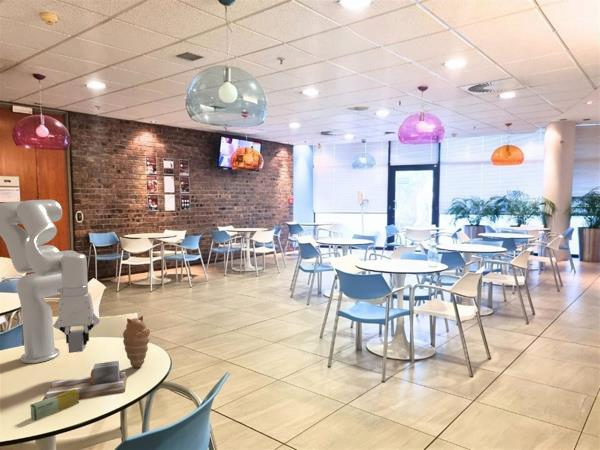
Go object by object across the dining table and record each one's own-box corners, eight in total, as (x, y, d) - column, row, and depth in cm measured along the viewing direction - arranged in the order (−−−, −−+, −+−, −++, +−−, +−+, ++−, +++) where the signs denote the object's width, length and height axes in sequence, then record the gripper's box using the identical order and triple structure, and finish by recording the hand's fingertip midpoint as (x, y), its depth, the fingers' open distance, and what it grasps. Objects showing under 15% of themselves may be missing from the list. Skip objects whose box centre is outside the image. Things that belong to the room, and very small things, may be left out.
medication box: (34, 421, 115) (33, 407, 115) (30, 418, 117) (29, 404, 117) (79, 403, 125) (79, 390, 124) (75, 400, 126) (74, 387, 126)
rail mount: (43, 404, 124) (41, 381, 124) (52, 386, 136) (51, 365, 135) (124, 391, 131) (123, 369, 131) (127, 375, 143) (126, 355, 142)
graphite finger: (68, 352, 139) (68, 334, 139) (73, 347, 146) (72, 329, 146) (82, 351, 140) (82, 332, 140) (86, 346, 148) (85, 328, 148)
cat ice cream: (127, 374, 143) (124, 322, 142) (121, 366, 150) (118, 316, 148) (154, 367, 149) (151, 316, 147) (147, 360, 155) (144, 311, 153)
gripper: (43, 295, 136) (47, 351, 138) (101, 291, 141) (103, 345, 143) (49, 290, 143) (52, 343, 145) (104, 286, 148) (106, 337, 150)
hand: (77, 343), depth 144 cm, fingers closed on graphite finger, 3 cm apart
